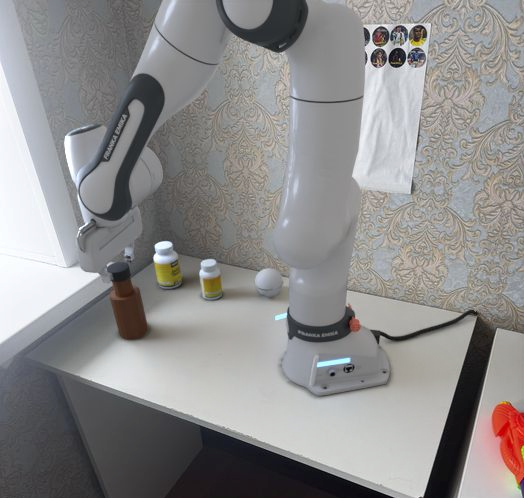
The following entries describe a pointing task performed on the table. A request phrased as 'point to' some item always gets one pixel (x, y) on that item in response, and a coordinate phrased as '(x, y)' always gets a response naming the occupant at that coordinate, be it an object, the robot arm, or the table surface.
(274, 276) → the white rounded piece
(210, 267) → the supplement bottle
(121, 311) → the bottle
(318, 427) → the table surface
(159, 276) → the pill bottle
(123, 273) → the bung
